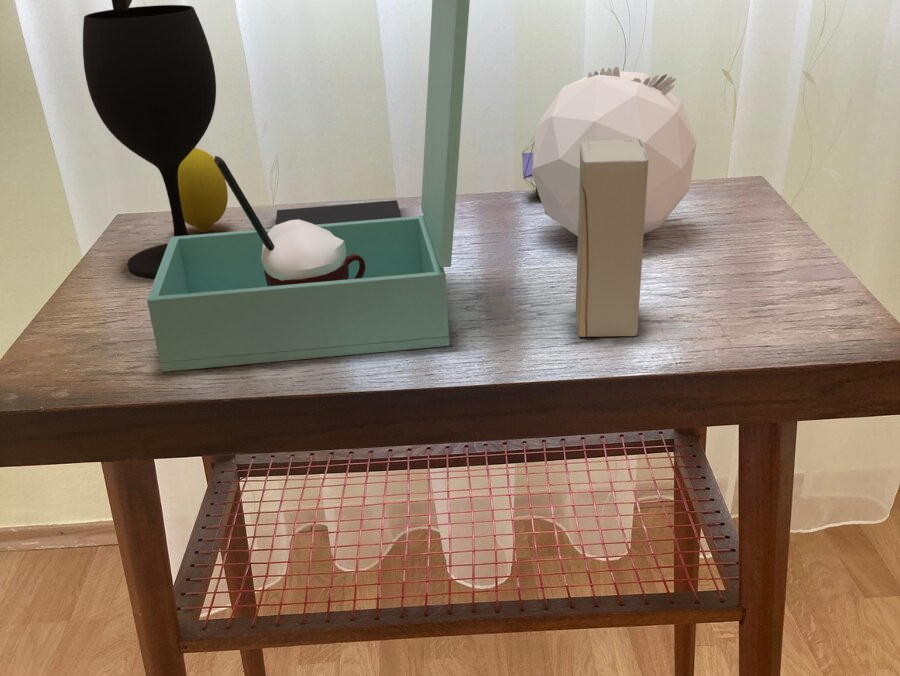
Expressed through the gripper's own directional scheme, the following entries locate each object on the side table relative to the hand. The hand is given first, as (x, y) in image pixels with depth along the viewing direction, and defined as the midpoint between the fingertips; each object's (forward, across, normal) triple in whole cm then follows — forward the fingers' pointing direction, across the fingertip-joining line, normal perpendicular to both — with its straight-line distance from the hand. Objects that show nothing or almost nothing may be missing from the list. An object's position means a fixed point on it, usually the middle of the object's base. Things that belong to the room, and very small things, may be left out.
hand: (246, 0), depth 62 cm
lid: (+7, -12, -11) cm, 18 cm away
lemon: (+26, +8, -38) cm, 47 cm away
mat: (+25, -5, -35) cm, 44 cm away
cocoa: (+23, -1, -10) cm, 25 cm away
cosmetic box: (+23, -23, -4) cm, 33 cm away
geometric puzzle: (+25, -27, -40) cm, 54 cm away
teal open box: (+24, -1, -10) cm, 26 cm away
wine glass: (+26, +9, -30) cm, 40 cm away
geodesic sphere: (+24, -29, -25) cm, 45 cm away
